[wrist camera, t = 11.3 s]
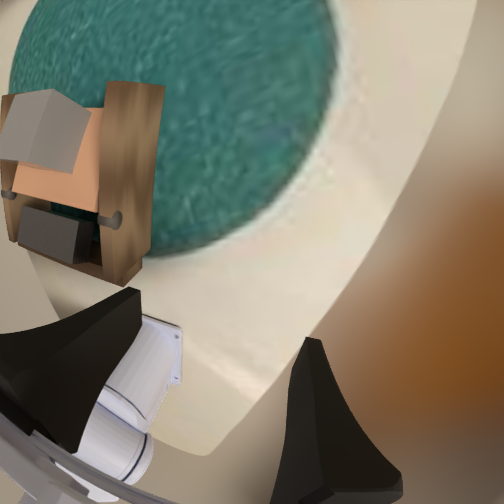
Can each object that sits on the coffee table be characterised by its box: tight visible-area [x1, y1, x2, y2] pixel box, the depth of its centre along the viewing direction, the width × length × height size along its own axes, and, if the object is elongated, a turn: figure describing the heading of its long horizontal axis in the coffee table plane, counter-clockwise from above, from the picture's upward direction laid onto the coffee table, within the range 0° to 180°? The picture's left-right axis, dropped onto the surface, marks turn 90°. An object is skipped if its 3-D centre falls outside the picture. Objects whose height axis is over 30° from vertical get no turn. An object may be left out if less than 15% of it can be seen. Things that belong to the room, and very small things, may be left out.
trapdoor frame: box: [0, 81, 166, 287], centre depth 18 cm, size 14×13×6 cm
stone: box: [0, 89, 92, 174], centre depth 14 cm, size 4×4×4 cm
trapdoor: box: [12, 108, 104, 265], centre depth 18 cm, size 11×10×2 cm
